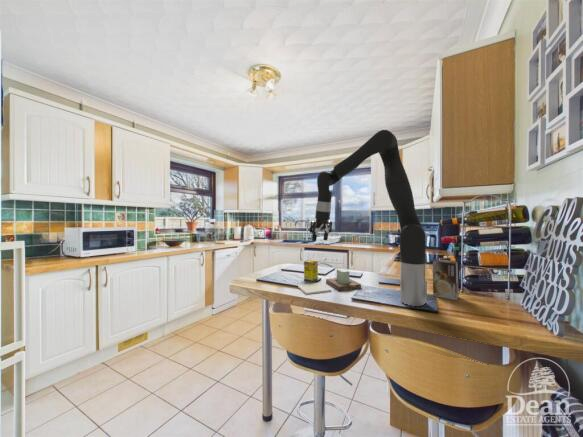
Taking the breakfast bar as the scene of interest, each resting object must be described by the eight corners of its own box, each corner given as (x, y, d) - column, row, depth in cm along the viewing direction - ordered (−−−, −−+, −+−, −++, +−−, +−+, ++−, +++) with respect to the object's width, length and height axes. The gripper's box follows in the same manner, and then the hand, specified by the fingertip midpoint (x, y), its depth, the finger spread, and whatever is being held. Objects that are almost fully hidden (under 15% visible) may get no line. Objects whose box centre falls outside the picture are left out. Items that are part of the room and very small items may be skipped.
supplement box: (312, 282, 129) (312, 262, 129) (303, 280, 133) (303, 261, 133) (318, 279, 134) (318, 260, 134) (309, 277, 138) (309, 259, 137)
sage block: (343, 283, 126) (343, 268, 126) (349, 286, 121) (349, 271, 121) (336, 284, 125) (336, 269, 125) (342, 287, 119) (342, 272, 119)
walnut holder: (346, 280, 132) (346, 276, 132) (361, 288, 118) (361, 284, 118) (326, 282, 128) (326, 279, 128) (339, 290, 114) (339, 286, 114)
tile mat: (319, 283, 126) (319, 282, 126) (330, 291, 114) (330, 289, 114) (297, 286, 122) (297, 284, 122) (306, 294, 110) (306, 292, 109)
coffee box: (458, 296, 104) (459, 261, 104) (456, 300, 100) (456, 263, 99) (435, 292, 111) (435, 258, 110) (432, 295, 106) (432, 260, 106)
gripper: (318, 211, 114) (315, 243, 116) (337, 211, 123) (334, 241, 125) (308, 209, 120) (305, 239, 122) (327, 209, 129) (323, 238, 131)
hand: (319, 240), depth 123 cm, fingers open, 8 cm apart
